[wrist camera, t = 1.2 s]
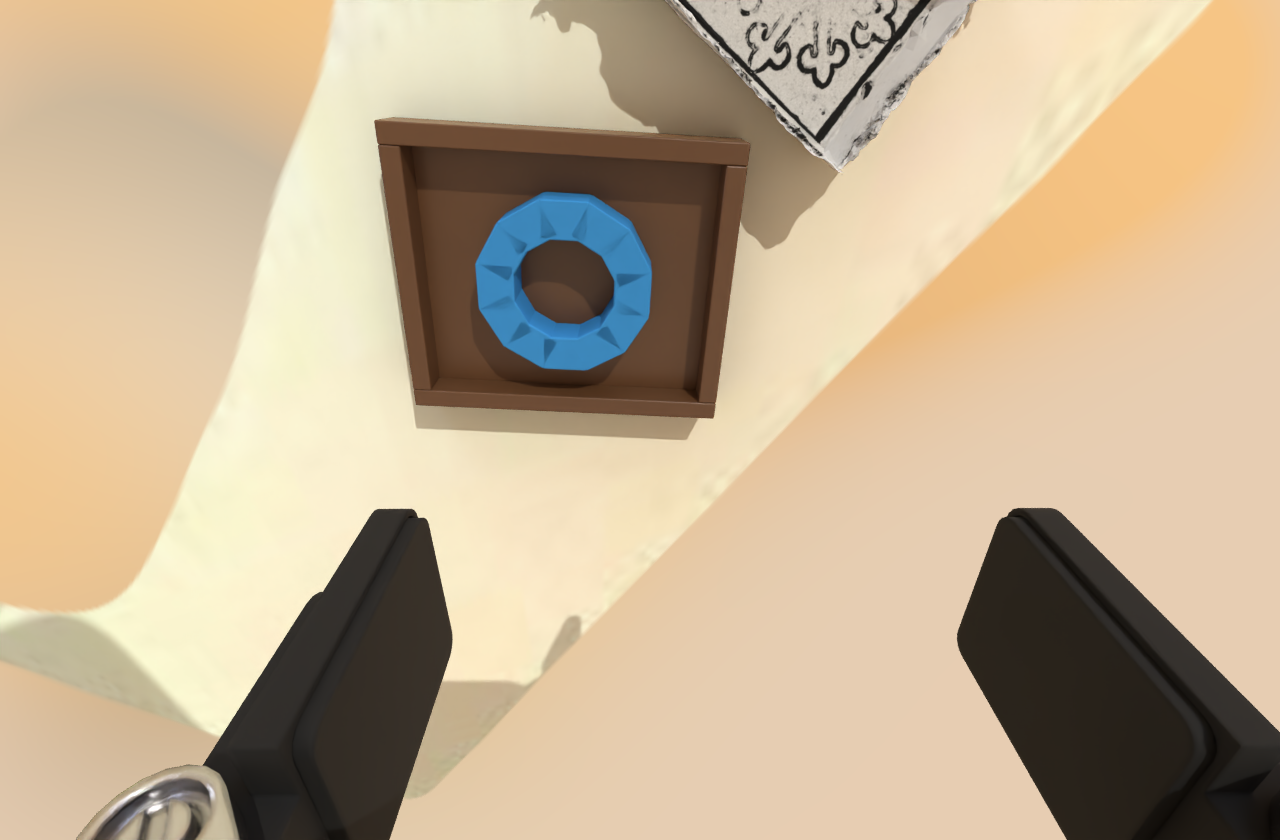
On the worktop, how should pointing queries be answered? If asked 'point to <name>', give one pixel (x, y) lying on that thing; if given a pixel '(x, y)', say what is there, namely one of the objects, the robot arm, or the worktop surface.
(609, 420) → the worktop surface
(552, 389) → the tray
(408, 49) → the worktop surface
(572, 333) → the ring
